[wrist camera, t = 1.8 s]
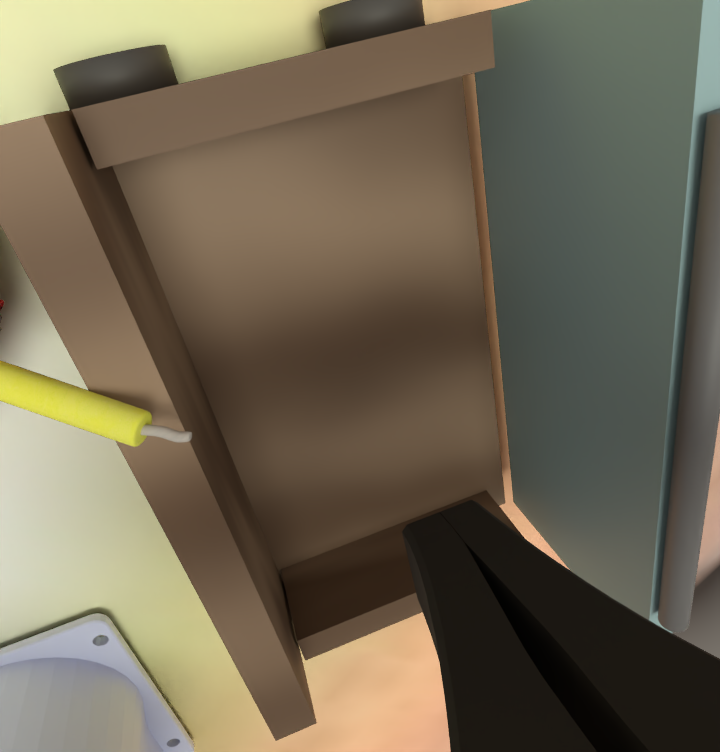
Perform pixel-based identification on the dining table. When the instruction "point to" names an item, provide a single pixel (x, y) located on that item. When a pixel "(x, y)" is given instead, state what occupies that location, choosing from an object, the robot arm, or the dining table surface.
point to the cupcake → (80, 407)
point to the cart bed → (278, 313)
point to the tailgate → (609, 281)
